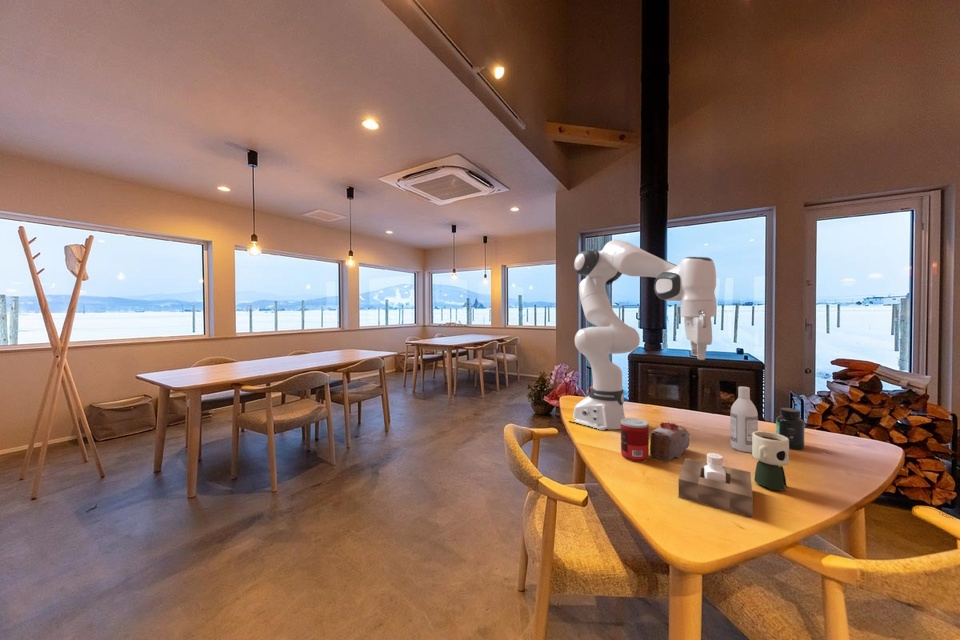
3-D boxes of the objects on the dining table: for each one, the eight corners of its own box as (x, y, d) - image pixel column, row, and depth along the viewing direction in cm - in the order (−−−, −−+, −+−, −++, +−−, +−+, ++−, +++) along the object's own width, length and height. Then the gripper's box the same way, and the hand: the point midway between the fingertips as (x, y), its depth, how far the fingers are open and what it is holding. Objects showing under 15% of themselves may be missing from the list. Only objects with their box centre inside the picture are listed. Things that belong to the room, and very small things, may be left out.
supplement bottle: (774, 445, 111) (774, 409, 110) (777, 440, 115) (777, 405, 115) (803, 452, 106) (803, 414, 105) (805, 446, 110) (805, 409, 110)
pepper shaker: (706, 495, 82) (706, 457, 82) (704, 488, 86) (703, 451, 86) (726, 499, 80) (726, 460, 80) (723, 491, 84) (723, 453, 84)
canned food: (654, 458, 103) (654, 422, 103) (637, 464, 99) (637, 427, 99) (632, 449, 110) (631, 416, 110) (615, 455, 106) (615, 420, 106)
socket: (678, 497, 82) (678, 478, 82) (685, 474, 93) (685, 458, 93) (752, 517, 73) (752, 497, 73) (750, 489, 85) (750, 472, 84)
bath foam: (760, 449, 109) (760, 387, 108) (754, 455, 104) (754, 390, 104) (733, 442, 114) (734, 383, 113) (727, 448, 109) (727, 387, 109)
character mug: (778, 499, 80) (778, 445, 80) (743, 485, 87) (743, 435, 86) (797, 486, 86) (797, 436, 85) (762, 475, 92) (763, 427, 92)
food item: (665, 444, 114) (664, 415, 114) (691, 451, 108) (691, 420, 108) (647, 456, 105) (647, 424, 105) (675, 464, 99) (674, 431, 99)
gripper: (719, 310, 89) (719, 362, 90) (704, 310, 108) (704, 353, 108) (691, 311, 92) (691, 361, 92) (681, 310, 111) (681, 352, 111)
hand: (698, 357), depth 101 cm, fingers open, 8 cm apart
